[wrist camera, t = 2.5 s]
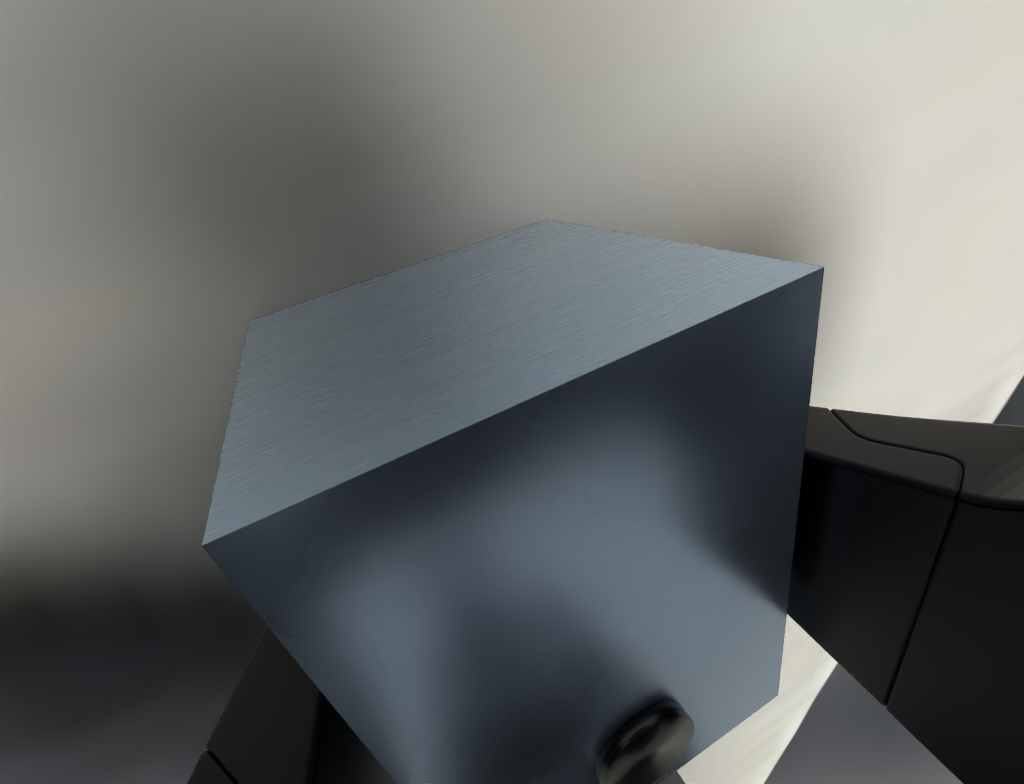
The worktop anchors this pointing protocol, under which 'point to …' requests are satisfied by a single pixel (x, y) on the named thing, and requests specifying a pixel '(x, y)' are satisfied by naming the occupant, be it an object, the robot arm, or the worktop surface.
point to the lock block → (528, 500)
